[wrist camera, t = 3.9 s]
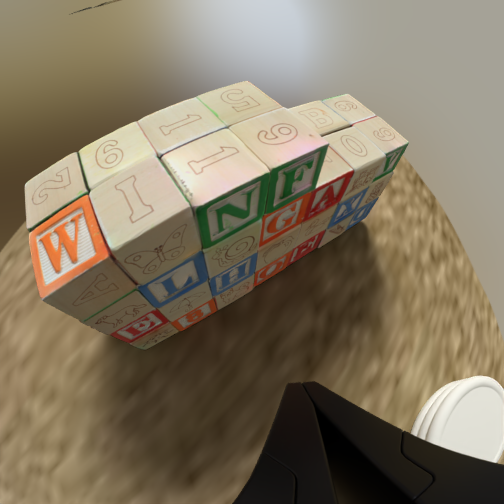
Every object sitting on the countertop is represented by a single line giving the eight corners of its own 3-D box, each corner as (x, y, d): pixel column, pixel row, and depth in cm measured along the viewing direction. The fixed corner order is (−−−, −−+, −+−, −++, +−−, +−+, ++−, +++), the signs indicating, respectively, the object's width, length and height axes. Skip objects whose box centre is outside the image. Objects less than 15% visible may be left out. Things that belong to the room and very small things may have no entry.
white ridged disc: (388, 495, 13) (411, 506, 10) (417, 377, 18) (443, 370, 15) (473, 481, 12) (498, 484, 9) (492, 382, 17) (517, 375, 14)
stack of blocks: (323, 171, 26) (359, 60, 15) (367, 218, 24) (430, 110, 13) (110, 282, 20) (20, 181, 9) (143, 353, 18) (34, 299, 7)
